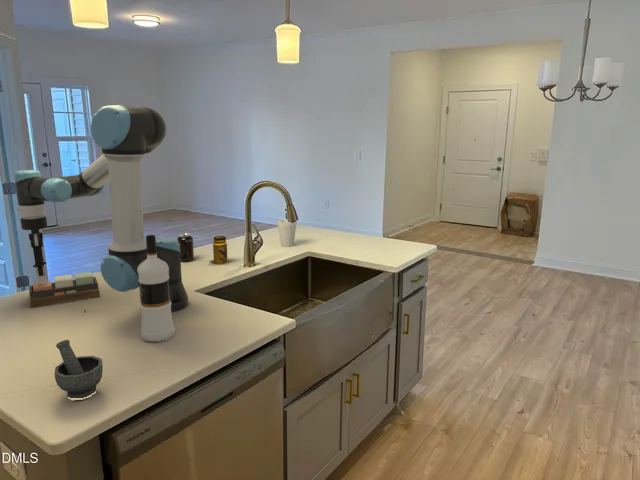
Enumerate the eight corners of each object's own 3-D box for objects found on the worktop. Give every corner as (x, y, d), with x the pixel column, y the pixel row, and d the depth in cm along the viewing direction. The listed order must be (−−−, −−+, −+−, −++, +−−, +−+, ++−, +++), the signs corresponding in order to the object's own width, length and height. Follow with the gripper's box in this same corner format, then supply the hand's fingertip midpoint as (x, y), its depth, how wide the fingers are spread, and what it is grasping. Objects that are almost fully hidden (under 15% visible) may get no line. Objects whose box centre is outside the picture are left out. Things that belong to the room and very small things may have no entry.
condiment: (228, 264, 208) (226, 238, 205) (208, 265, 206) (207, 238, 204) (228, 260, 215) (227, 234, 212) (209, 261, 214) (208, 235, 211)
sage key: (93, 283, 168) (92, 276, 168) (76, 286, 166) (75, 278, 165) (92, 279, 173) (91, 271, 173) (75, 281, 171) (74, 274, 170)
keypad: (99, 297, 167) (98, 284, 166) (31, 307, 157) (29, 295, 156) (95, 286, 178) (94, 275, 177) (31, 296, 168) (29, 284, 167)
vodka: (166, 344, 131) (158, 239, 124) (135, 342, 132) (125, 238, 125) (180, 330, 140) (173, 232, 133) (151, 328, 141) (142, 231, 134)
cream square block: (73, 286, 165) (72, 278, 165) (55, 289, 162) (54, 281, 162) (72, 281, 170) (71, 274, 170) (54, 284, 168) (54, 276, 167)
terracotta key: (52, 293, 162) (51, 285, 162) (34, 296, 160) (33, 288, 159) (52, 288, 167) (51, 280, 167) (34, 290, 165) (33, 283, 164)
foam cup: (274, 246, 240) (274, 221, 237) (283, 242, 248) (282, 218, 245) (291, 248, 236) (291, 223, 233) (299, 244, 244) (299, 220, 241)
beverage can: (196, 258, 217) (194, 233, 214) (190, 262, 210) (189, 236, 207) (181, 258, 217) (180, 233, 215) (176, 262, 211) (174, 236, 208)
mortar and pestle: (114, 389, 108) (109, 341, 105) (76, 410, 100) (70, 358, 97) (83, 377, 113) (77, 331, 111) (45, 395, 105) (38, 346, 103)
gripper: (20, 214, 161) (29, 280, 166) (19, 221, 150) (29, 291, 156) (45, 212, 165) (54, 277, 170) (46, 219, 154) (55, 287, 159)
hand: (42, 283), depth 163 cm, fingers closed
